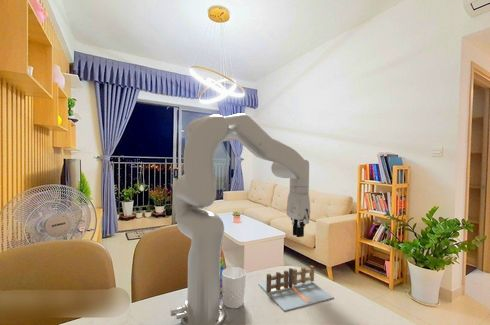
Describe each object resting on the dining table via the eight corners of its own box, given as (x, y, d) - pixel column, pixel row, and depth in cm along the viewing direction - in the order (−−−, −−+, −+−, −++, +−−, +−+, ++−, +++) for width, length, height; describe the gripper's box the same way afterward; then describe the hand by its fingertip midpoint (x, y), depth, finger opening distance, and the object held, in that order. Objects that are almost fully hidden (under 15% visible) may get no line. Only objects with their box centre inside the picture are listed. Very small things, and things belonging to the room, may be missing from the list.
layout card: (284, 311, 77) (284, 310, 77) (258, 284, 93) (258, 283, 93) (333, 298, 85) (333, 296, 85) (301, 275, 101) (301, 274, 101)
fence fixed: (268, 294, 87) (268, 274, 87) (266, 292, 88) (266, 272, 88) (293, 288, 91) (293, 269, 91) (290, 286, 92) (291, 267, 92)
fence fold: (293, 285, 91) (294, 270, 91) (292, 283, 92) (292, 269, 92) (313, 280, 95) (314, 266, 95) (311, 279, 96) (312, 265, 96)
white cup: (241, 294, 86) (242, 266, 86) (248, 307, 78) (248, 276, 78) (219, 297, 84) (220, 268, 84) (223, 311, 76) (224, 279, 76)
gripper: (280, 188, 105) (279, 231, 105) (303, 193, 90) (302, 243, 90) (295, 187, 108) (294, 229, 108) (319, 192, 93) (318, 240, 93)
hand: (298, 235), depth 99 cm, fingers closed
